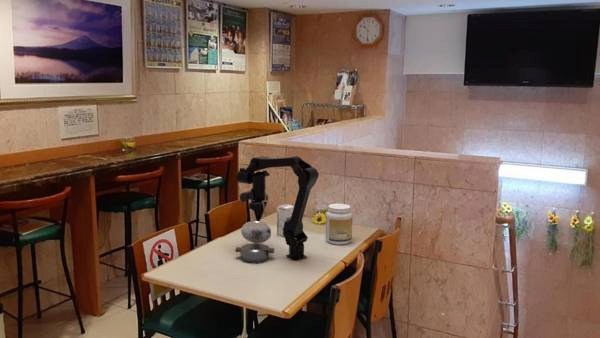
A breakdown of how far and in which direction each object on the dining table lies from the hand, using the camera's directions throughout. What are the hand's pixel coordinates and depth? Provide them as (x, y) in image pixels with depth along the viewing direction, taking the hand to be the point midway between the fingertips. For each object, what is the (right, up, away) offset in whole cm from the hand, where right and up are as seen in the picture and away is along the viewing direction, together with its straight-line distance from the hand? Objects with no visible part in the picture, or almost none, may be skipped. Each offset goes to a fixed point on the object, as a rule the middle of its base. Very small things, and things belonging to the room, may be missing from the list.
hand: (259, 220), depth 219 cm
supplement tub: (+36, -11, +14) cm, 40 cm away
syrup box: (+11, -10, +22) cm, 27 cm away
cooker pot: (-1, -15, -10) cm, 18 cm away
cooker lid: (-1, -5, -8) cm, 10 cm away
